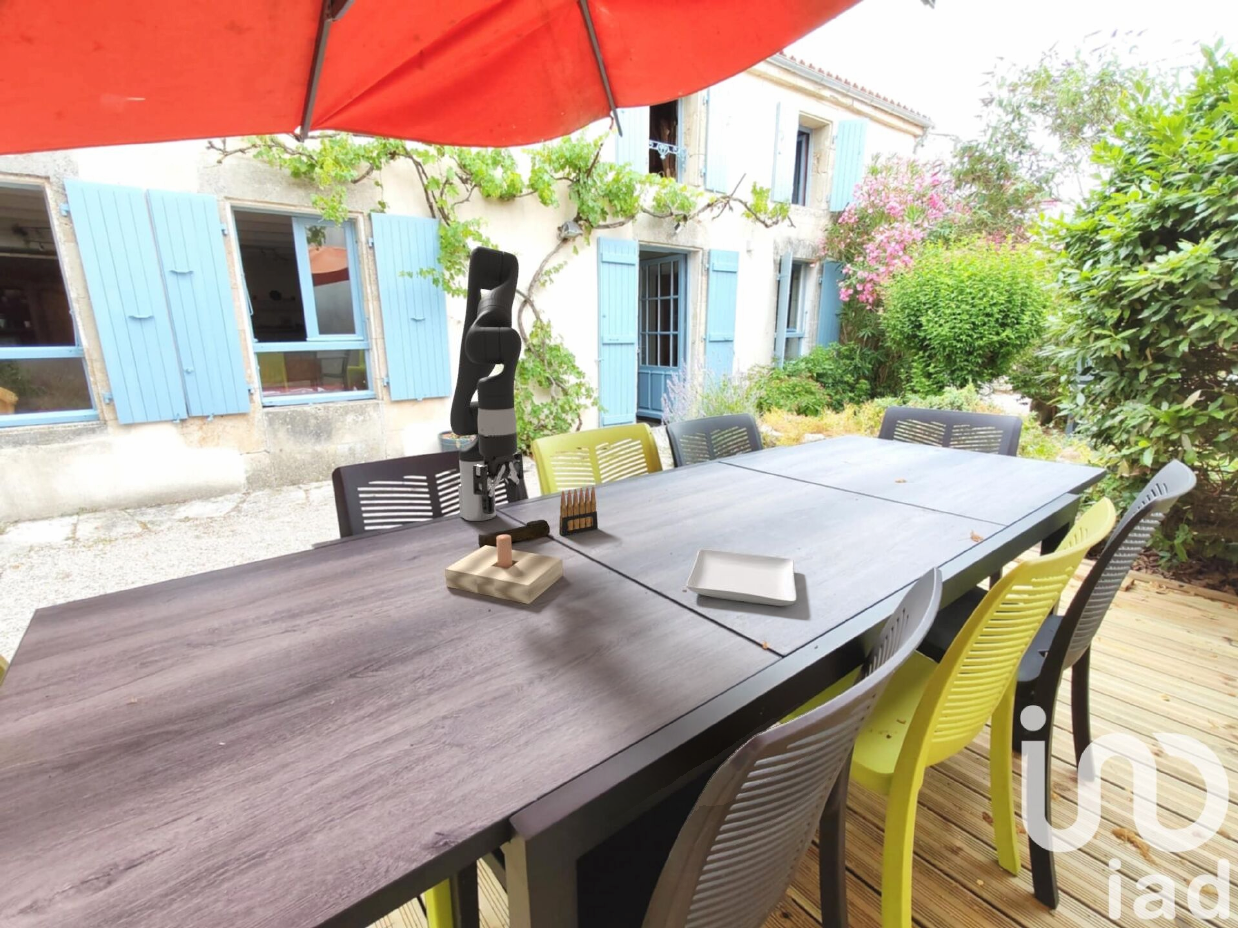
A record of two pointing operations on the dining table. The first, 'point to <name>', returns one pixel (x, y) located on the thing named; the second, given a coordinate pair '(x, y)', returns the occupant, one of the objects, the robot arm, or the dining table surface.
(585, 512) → the ammunition clip
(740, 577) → the salad plate
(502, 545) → the peg
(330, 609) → the dining table surface
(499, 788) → the dining table surface
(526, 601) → the hole block
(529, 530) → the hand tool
